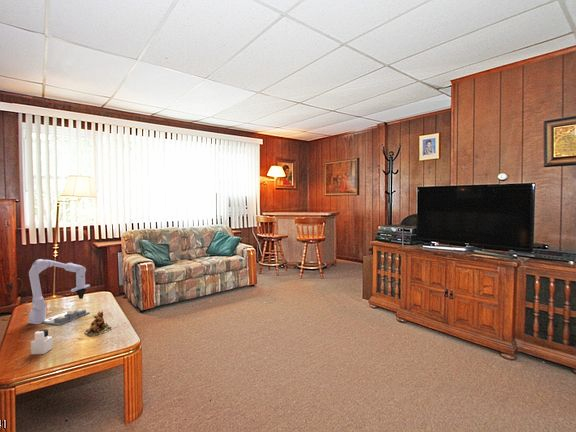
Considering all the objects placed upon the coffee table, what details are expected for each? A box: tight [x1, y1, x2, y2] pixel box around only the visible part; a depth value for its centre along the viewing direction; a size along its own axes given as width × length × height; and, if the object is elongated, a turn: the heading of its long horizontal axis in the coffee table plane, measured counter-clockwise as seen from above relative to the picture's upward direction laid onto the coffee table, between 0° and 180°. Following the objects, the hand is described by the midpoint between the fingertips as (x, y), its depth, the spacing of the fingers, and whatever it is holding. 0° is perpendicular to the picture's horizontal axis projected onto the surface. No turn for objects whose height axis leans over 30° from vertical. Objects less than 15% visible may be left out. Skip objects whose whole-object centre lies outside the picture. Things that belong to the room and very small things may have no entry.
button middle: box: [66, 309, 74, 315], centre depth 225 cm, size 4×4×3 cm
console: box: [41, 309, 90, 326], centre depth 227 cm, size 18×24×3 cm
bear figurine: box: [84, 310, 113, 337], centre depth 204 cm, size 14×15×12 cm
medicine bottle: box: [30, 328, 53, 355], centre depth 176 cm, size 7×7×12 cm
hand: (81, 298), depth 239 cm, fingers closed
